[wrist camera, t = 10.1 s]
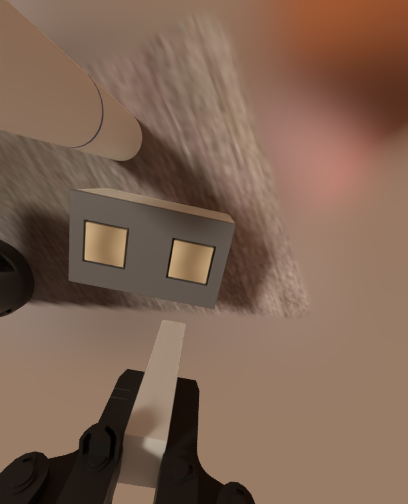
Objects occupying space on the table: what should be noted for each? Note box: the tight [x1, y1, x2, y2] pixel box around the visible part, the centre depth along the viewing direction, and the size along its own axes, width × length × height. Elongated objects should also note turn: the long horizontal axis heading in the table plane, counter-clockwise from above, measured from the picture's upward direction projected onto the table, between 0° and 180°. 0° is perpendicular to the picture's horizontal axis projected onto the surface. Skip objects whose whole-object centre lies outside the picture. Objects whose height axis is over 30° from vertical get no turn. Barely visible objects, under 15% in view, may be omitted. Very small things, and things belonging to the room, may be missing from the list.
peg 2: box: [168, 238, 214, 284], centre depth 31 cm, size 5×5×8 cm
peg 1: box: [85, 221, 129, 267], centre depth 31 cm, size 5×5×8 cm
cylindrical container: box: [0, 0, 142, 161], centre depth 20 cm, size 7×7×25 cm
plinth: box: [69, 188, 236, 309], centre depth 32 cm, size 20×12×10 cm, turn 78°
